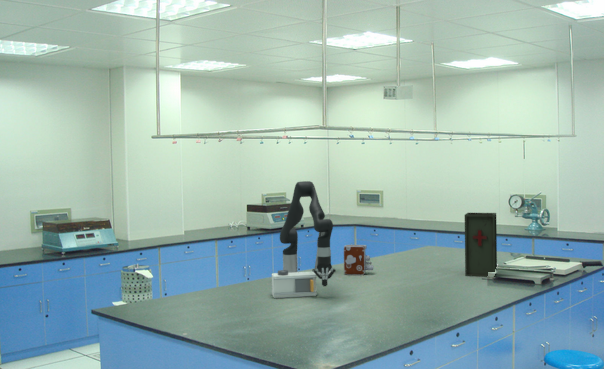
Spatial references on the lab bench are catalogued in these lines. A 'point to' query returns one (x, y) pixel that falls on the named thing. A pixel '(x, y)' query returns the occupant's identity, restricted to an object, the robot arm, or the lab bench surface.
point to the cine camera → (356, 260)
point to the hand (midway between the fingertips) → (324, 286)
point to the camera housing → (290, 284)
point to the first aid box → (480, 244)
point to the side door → (304, 285)
